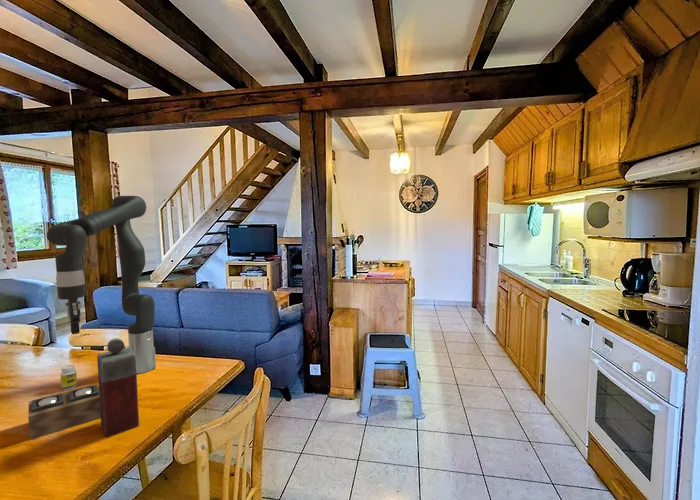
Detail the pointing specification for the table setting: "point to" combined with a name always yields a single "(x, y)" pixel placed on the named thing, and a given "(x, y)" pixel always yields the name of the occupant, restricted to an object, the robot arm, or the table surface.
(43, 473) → the table surface
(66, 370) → the supplement bottle
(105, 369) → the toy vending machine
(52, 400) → the peg
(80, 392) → the peg
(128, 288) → the robot arm
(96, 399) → the brown wooden block
